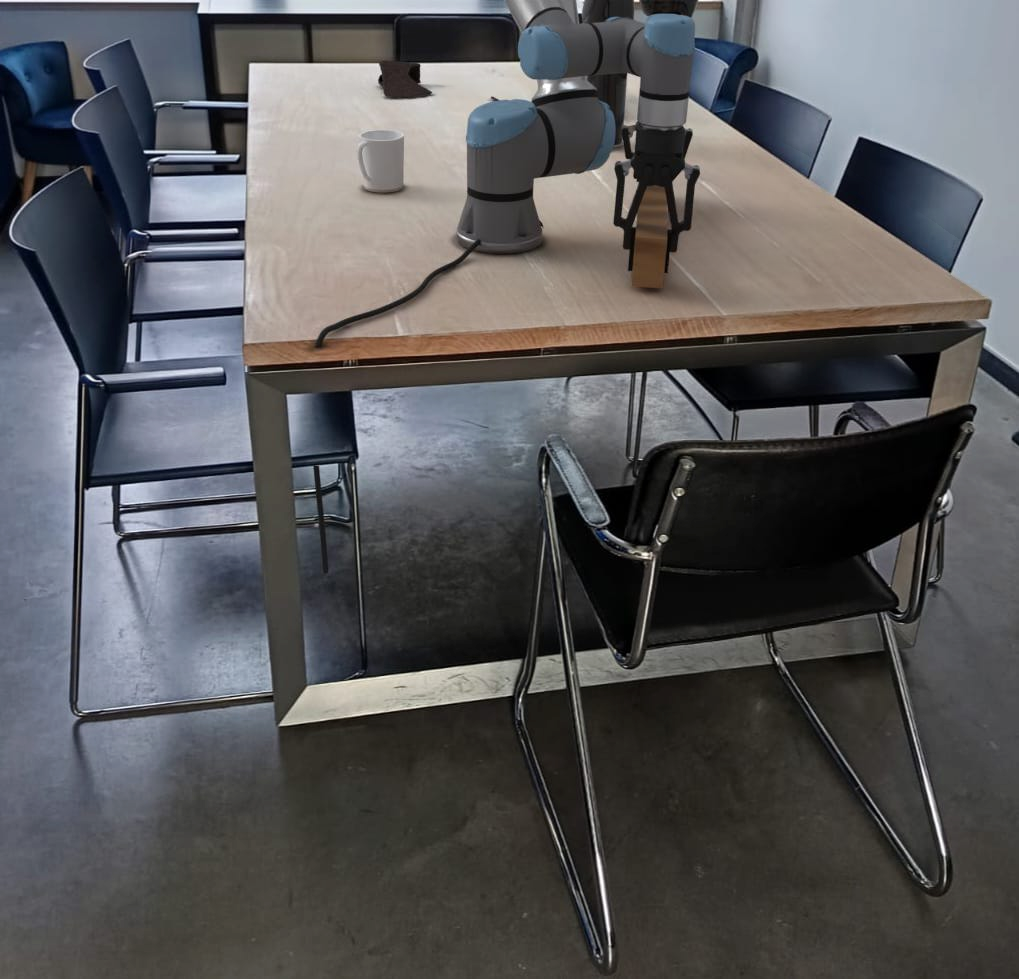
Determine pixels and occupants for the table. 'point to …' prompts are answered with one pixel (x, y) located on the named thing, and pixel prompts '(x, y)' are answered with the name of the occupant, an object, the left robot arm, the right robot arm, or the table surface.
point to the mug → (381, 160)
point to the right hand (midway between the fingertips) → (652, 181)
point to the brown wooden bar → (650, 239)
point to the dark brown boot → (401, 79)
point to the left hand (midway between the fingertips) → (647, 269)
